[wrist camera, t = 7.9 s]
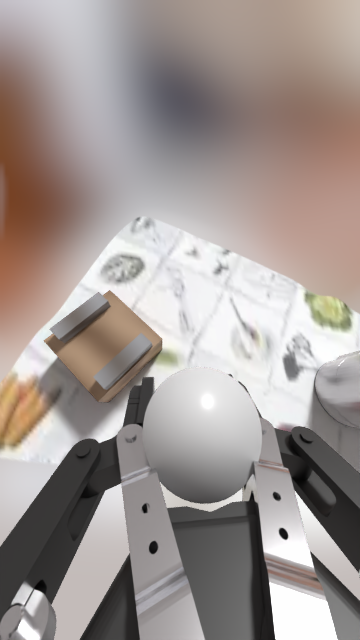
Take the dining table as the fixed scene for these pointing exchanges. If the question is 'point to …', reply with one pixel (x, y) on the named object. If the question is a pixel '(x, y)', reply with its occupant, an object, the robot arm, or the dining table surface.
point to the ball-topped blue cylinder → (202, 435)
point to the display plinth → (104, 345)
